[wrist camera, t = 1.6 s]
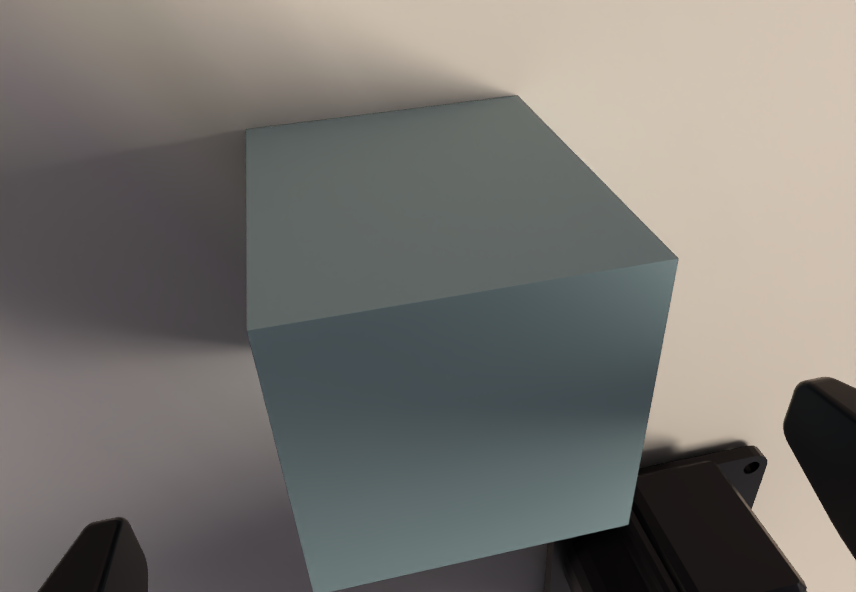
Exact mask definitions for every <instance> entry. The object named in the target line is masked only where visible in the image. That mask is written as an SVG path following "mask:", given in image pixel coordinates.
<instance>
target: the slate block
mask: <svg viewBox="0 0 856 592" xmlns="http://www.w3.org/2000/svg"><path fill="white" fill-rule="evenodd" d="M246 261H247V334H248V338H249V342H250V346H251V349H252V353H253V357H254V361H255V365H256V369H257V373H258V377H259V381H260V385H261V389H262V393H263V397H264V401H265V405H266V408H267V412H268V416H269V420H270V424H271V428H272V432H273V436H274V440H275V444H276V448H277V452H278V456H279V460H280V464H281V467H282V471H283V475H284V479H285V483H286V487H287V491H288V495H289V499H290V503H291V507H292V511H293V515H294V519H295V523H296V526H297V530H298V534H299V538H300V542H301V546H302V550H303V554H304V558H305V562H306V566H307V570H308V574H309V578H310V582H311V585H312V589H313V592H332V591H337V590H341V589H346V588H350V587H355V586H359V585H363V584H368V583H372V582H377V581H381V580H386V579H390V578H395V577H399V576H403V575H408V574H412V573H417V572H421V571H426V570H430V569H434V568H439V567H443V566H448V565H452V564H457V563H461V562H465V561H470V560H474V559H479V558H483V557H488V556H492V555H496V554H501V553H505V552H510V551H514V550H519V549H523V548H528V547H532V546H536V545H541V544H545V543H550V542H554V541H559V540H563V539H567V538H572V537H576V536H581V535H585V534H590V533H594V532H598V531H603V530H607V529H612V528H616V527H621V526H625V525H628V524H629V519H630V513H631V508H632V503H633V497H634V492H635V487H636V481H637V476H638V471H639V466H640V460H641V455H642V450H643V444H644V439H645V434H646V429H647V423H648V418H649V413H650V407H651V402H652V397H653V391H654V386H655V381H656V376H657V370H658V365H659V360H660V354H661V349H662V344H663V339H664V333H665V328H666V323H667V317H668V312H669V307H670V301H671V296H672V291H673V286H674V280H675V275H676V270H677V264H678V257H677V256H676V255H675V254H674V253H673V252H672V251H671V250H670V249H669V248H668V247H667V246H666V245H665V244H664V243H663V242H662V241H661V240H660V239H659V238H658V237H657V236H656V235H655V234H654V233H653V232H652V231H651V230H650V229H649V228H648V227H647V226H646V225H645V224H644V223H643V222H642V221H641V220H640V219H639V218H638V217H637V216H636V215H635V214H634V213H633V212H632V211H631V210H630V209H629V208H628V207H627V206H626V205H625V204H624V203H623V202H622V201H621V200H620V199H619V198H618V197H617V196H616V195H615V194H614V193H613V192H612V191H611V190H610V189H609V188H608V186H607V185H606V184H605V183H604V182H603V181H602V180H601V179H600V178H599V177H598V176H597V175H596V174H595V173H594V172H593V171H592V170H591V169H590V168H589V167H588V166H587V165H586V164H585V163H584V162H583V161H582V160H581V159H580V158H579V157H578V156H577V155H576V154H575V153H574V152H573V151H572V150H571V149H570V148H569V147H568V146H567V145H566V144H565V143H564V142H563V141H562V140H561V139H560V138H559V137H558V136H557V135H556V134H555V133H554V132H553V131H552V130H551V129H550V128H549V127H548V126H547V125H546V124H545V123H544V122H543V121H542V120H541V119H540V118H539V116H538V115H537V114H536V113H535V112H534V111H533V110H532V109H531V108H530V107H529V106H528V105H527V104H526V103H525V102H524V101H523V100H522V99H521V98H520V97H519V96H518V95H517V96H509V97H501V98H493V99H485V100H477V101H469V102H461V103H453V104H445V105H437V106H429V107H421V108H413V109H405V110H397V111H389V112H381V113H373V114H365V115H357V116H349V117H341V118H333V119H325V120H317V121H309V122H301V123H293V124H285V125H277V126H269V127H261V128H253V129H246Z"/></svg>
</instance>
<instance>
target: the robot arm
mask: <svg viewBox="0 0 856 592" xmlns="http://www.w3.org/2000/svg"><path fill="white" fill-rule="evenodd" d="M783 429H784V434H785V437H786V440H787V442H788V444H789V446H790V448H791V449H792V451H793V453H794V455H795V457H796V458H797V460H798V462H799V464H800V466H801V467H802V469H803V471H804V473H805V475H806V476H807V478H808V480H809V482H810V484H811V486H812V487H813V489H814V491H815V493H816V495H817V496H818V498H819V500H820V502H821V504H822V505H823V507H824V509H825V511H826V513H827V514H828V516H829V518H830V520H831V522H832V523H833V525H834V527H835V528H836V530H837V532H838V533H839V535H840V537H841V538H842V540H843V541H844V543H845V544H846V546H847V547H848V549H849V551H850V552H851V554H852V555H853V556H854V558H855V559H856V388H854V387H852V386H849V385H847V384H845V383H843V382H841V381H838V380H836V379H834V378H830V377H820V378H815V379H810V380H805V381H802V382H800V383H799V384H798V385H797V386H796V388H795V390H794V393H793V396H792V399H791V402H790V404H789V407H788V410H787V413H786V416H785V419H784V423H783ZM766 466H767V459H766V458H765V456H764V455H763V454H762V453H761V451H760V450H759V449H758V448H757V447H755V446H745V447H740V448H736V449H731V450H726V451H722V452H717V453H712V454H708V455H703V456H698V457H693V458H689V459H684V460H679V461H675V462H670V463H665V464H661V465H656V466H651V467H647V468H642V469H639V471H638V476H637V481H636V487H635V492H634V497H633V503H632V508H631V513H630V519H629V524H628V525H625V526H621V527H616V528H612V529H607V530H603V531H598V532H594V533H590V534H585V535H581V536H576V537H572V538H567V539H563V540H559V541H554V542H550V543H548V550H547V562H546V574H545V586H544V592H807V591H806V588H807V587H806V585H805V583H804V581H803V579H802V578H801V577H800V575H799V574H798V573H797V571H796V570H795V569H794V567H793V566H792V564H791V563H790V562H789V560H788V559H787V558H786V556H785V555H784V554H783V552H782V551H781V549H780V548H779V547H778V545H777V544H776V543H775V541H774V540H773V539H772V537H771V536H770V534H769V533H768V532H767V530H766V529H765V528H764V526H763V525H762V523H761V522H760V521H759V519H758V518H757V517H756V515H755V514H754V513H753V511H752V510H751V509H752V506H753V503H754V500H755V497H756V495H757V492H758V489H759V486H760V483H761V480H762V477H763V474H764V472H765V469H766ZM38 592H148V569H147V562H146V558H145V555H144V553H143V551H142V549H141V547H140V545H139V542H138V540H137V538H136V536H135V534H134V532H133V530H132V528H131V526H130V524H129V522H128V521H127V520H126V519H125V518H123V517H116V518H111V519H106V520H101V521H96V522H92V523H90V524H89V525H87V526H86V527H85V528H84V529H83V531H82V532H81V533H80V535H79V536H78V537H77V539H76V540H75V542H74V543H73V544H72V546H71V547H70V548H69V550H68V551H67V552H66V554H65V555H64V557H63V558H62V559H61V561H60V562H59V563H58V565H57V566H56V567H55V569H54V570H53V572H52V573H51V574H50V576H49V577H48V578H47V580H46V581H45V582H44V584H43V585H42V587H41V588H40V589H39V591H38Z"/></svg>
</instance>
